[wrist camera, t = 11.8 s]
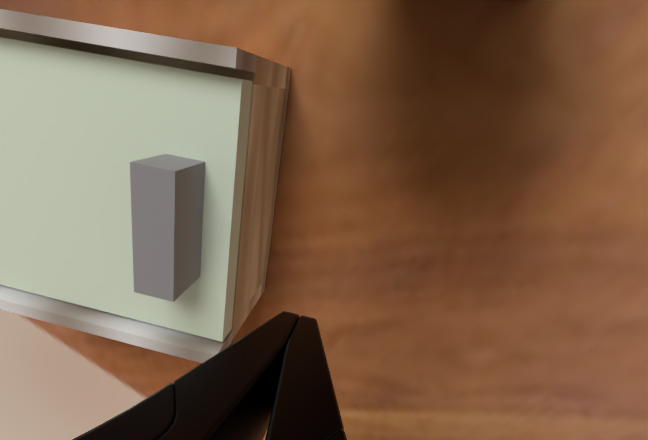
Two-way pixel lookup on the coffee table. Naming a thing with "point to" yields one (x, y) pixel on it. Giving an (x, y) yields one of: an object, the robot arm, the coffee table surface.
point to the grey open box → (258, 177)
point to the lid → (122, 184)
